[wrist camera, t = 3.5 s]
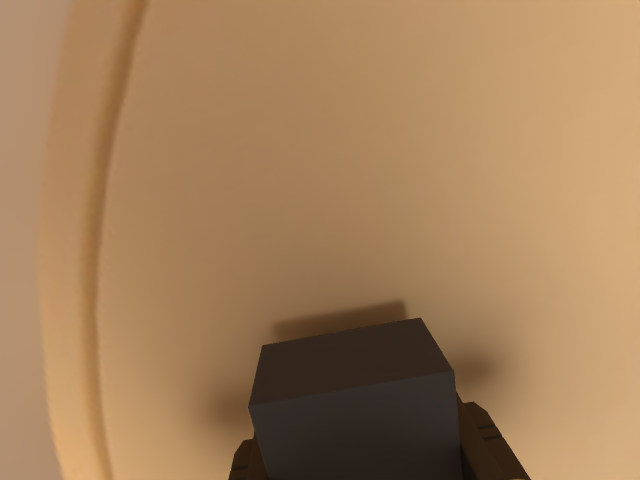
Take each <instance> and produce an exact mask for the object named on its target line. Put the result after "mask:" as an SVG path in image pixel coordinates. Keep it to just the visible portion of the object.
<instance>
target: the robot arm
mask: <svg viewBox="0 0 640 480" xmlns="http://www.w3.org/2000/svg"><path fill="white" fill-rule="evenodd" d="M456 398H457V409H458V420H459V430H460V441H461V445H460V448H461V459H462V470H463V480H531V479H530V478H529V476H528V475H527V473H526V472H525V470H524V468H523V467H522V465H521V464H520V462H519V461H518V459H517V458H516V456H515V455H514V453H513V451H512V450H511V448H510V447H509V445H508V444H507V442H506V441H505V439H504V438H503V437H502V434H501V433H500V431H499V430H498V428H497V427H496V426H495V424H494V422H493V421H492V419H491V417H490V416H489V414H488V413H487V411H485V410H484V409H483V408H481V407H480V406H479V405H477V404H476V403H475V402H468V403H462V401H461V399H460V397H459V396H458V394H457V392H456ZM228 480H270V478H269V477H268V476H267V472H266V469H265V465H264V461H263V458H262V454H261V451H260V447H259V444H258V440H257V437H256V433H255V432H254V437H253V439H249V440H243V442H242V443H241V445H240V446H239V448H238V449H237V451H236V452H235V454H234V458H233V462H232V467H231V471H230V475H229V479H228Z"/></svg>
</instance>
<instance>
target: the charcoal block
mask: <svg viewBox="0 0 640 480" xmlns="http://www.w3.org/2000/svg"><path fill="white" fill-rule="evenodd" d="M248 408H249V412H250V415H251V419H252V422H253V426H254V430H255V433H256V437H257V440H258V444H259V447H260V451H261V454H262V458H263V461H264V465H265V469H266V472H267V476H268V477H269V478H270V480H463V470H462V459H461V448H460V445H461V441H460V430H459V420H458V409H457V398H456V387H455V377H454V371H453V369H452V368H451V366H450V364H449V363H448V361H447V360H446V358H445V356H444V355H443V353H442V351H441V350H440V348H439V347H438V345H437V343H436V342H435V340H434V339H433V337H432V335H431V334H430V332H429V330H428V329H427V327H426V326H425V324H424V322H423V321H422V319H421V318H415V319H409V320H404V321H398V322H392V323H387V324H381V325H375V326H370V327H364V328H358V329H353V330H347V331H341V332H336V333H330V334H324V335H318V336H313V337H307V338H301V339H296V340H290V341H284V342H279V343H273V344H267V345H263V346H262V349H261V353H260V358H259V362H258V366H257V371H256V375H255V380H254V384H253V388H252V393H251V397H250V402H249V406H248Z"/></svg>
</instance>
